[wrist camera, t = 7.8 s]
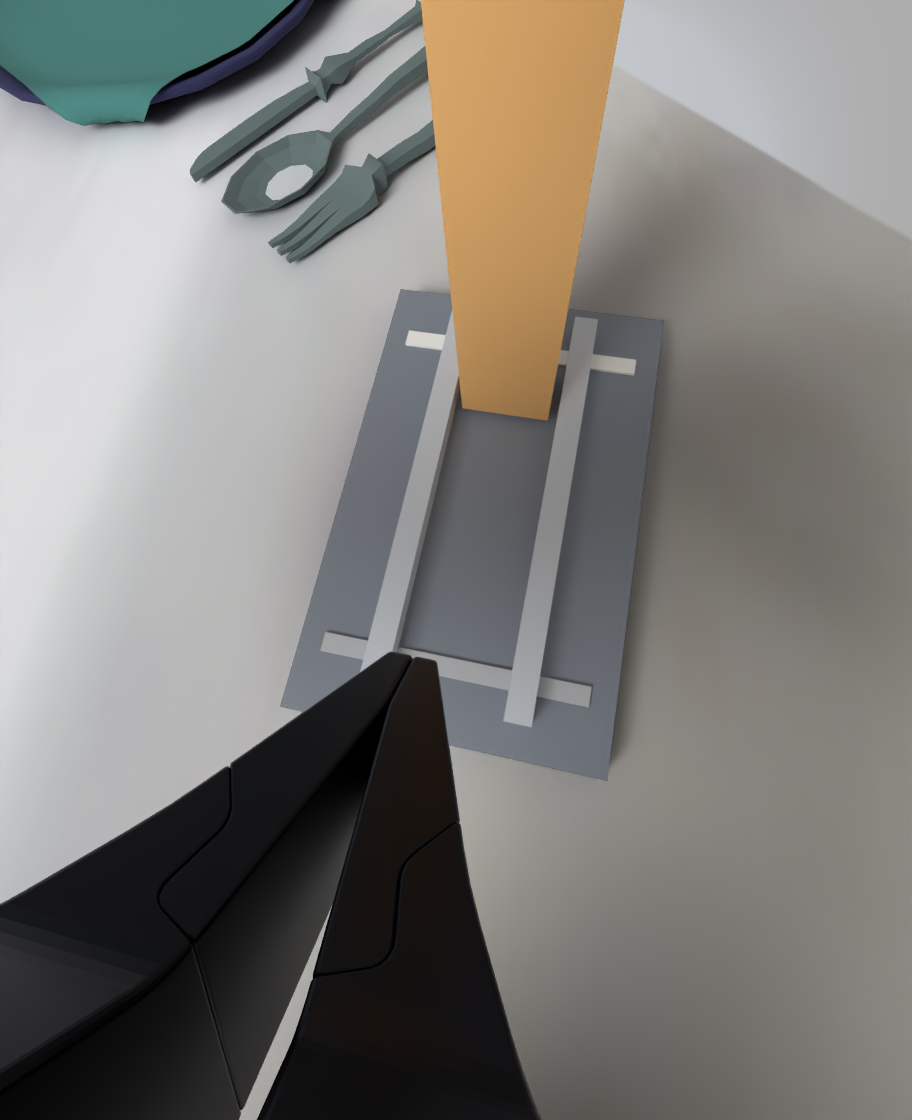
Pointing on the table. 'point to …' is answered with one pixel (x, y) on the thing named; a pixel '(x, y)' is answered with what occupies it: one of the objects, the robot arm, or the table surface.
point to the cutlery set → (191, 65)
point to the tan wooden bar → (515, 179)
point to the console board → (492, 539)
